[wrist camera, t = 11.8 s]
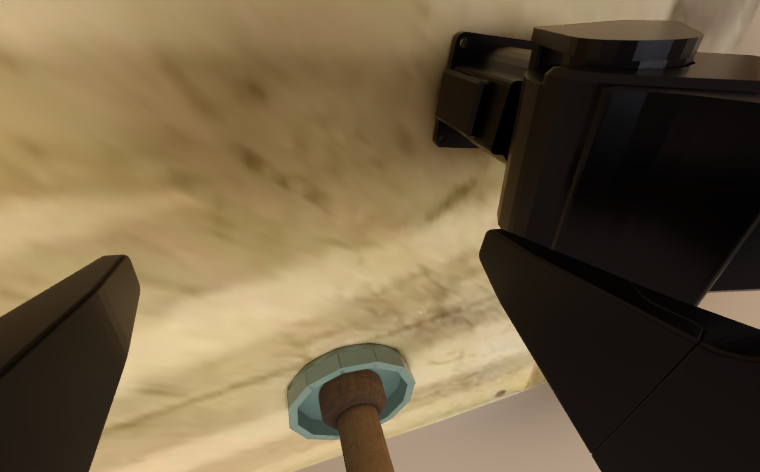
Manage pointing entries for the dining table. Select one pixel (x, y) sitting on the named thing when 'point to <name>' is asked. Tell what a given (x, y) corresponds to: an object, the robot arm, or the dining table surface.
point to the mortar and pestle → (357, 419)
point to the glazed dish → (333, 364)
